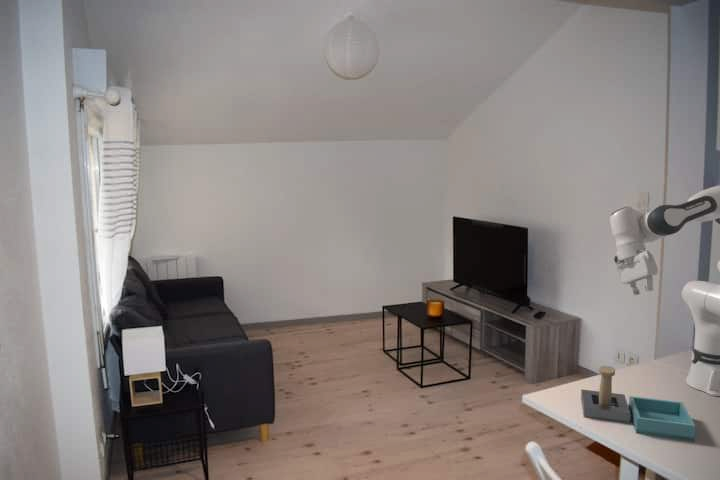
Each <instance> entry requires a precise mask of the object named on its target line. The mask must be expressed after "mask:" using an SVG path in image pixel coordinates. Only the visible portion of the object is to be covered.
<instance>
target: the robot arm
mask: <svg viewBox="0 0 720 480" xmlns="http://www.w3.org/2000/svg"><path fill="white" fill-rule="evenodd" d="M691 221H696V222H698V223H706V222H711V221H714V222H715V223H717V224H718V225H720V185H715V186H712V187H708V188H706V189H704V190H701V191H699V192H697V193H695V194H693V195H692V196H690V197H689V198H688V199H687V201H686V202H684V203H681V204H676V205H675V204H662V205H659V206H658V207H655V208H654V209H653V210H650V211H649V212H647V213H646V212H641V211H638V210H636V209H634V208H633V207H632V206H624V207H621V208H619V209H617V210H615V211H613V212H612V213H611V214H610V216H609V223H610V229H611V233H612V237H613V238H614V240H615V248H616V254H615V256H614V257H613V264H614V265H616V272H617V275H618V277H619V281H620V283H621V284H622V285H628V287H629V288H630V290H631V293H632V295H633V296H638V295H640V294H641V292H640V289H639V288H638V287H637V282H638V281H641V280H644V281H645V286H644V288H645V291H646V292H652V291H654V286H653V283H654V278H653V277H654V276H656V275H658V273H659V269H658V265H657V263H656V260H655V257H654V256H653V254H652V253H650V251H649V250H648V249H647V248H646V244H645V243H653V242H655V241H658V240H660V239H662V238H666V237H667V236H671V235H674V234H677V233H678V232H679V231H680V230H681V229H683V227H684V226H685V225H686V224H687V223H689V222H691ZM716 265H717V266H716V267H717V271H718V272H719V273H720V259H719V260H718V262H717V264H716ZM681 298H682V300H683V302H684V303H685V304H686V306H687V307H688V308H689V310H690V313H691V316H692V318H693V323H694V328H695V329H694V340H693V341H694V343H693V346H692V349H691V355H690V356H691V357H690V358H691V359H690V360H691V364H690V368H689V371H688V375H687V377H686V378H685V383H686V384H687V386H689V387H692V388H693V389H696V390H698V391H702V392H704V393H707V394H709V395H711V396H714V397H720V284H716V283H714V282H709V281H706V280H690V281H688V282H687V283H686V284H685V285H684V286H683V288H682V290H681Z"/></svg>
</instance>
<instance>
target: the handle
mask: <svg viewBox="0 0 720 480" xmlns="http://www.w3.org/2000/svg"><path fill="white" fill-rule="evenodd" d="M598 373H599V375H600V376H601V377H600V383H599V390H598V391H599V405H604V406H610V404H611V395H612V393H613V392H612V391H613V390H612V386H613V385H612V380H613V377H614V376H615V375H616V369H615V367H614V366H610V365H601V366H600V367H598Z"/></svg>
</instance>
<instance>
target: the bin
mask: <svg viewBox="0 0 720 480" xmlns="http://www.w3.org/2000/svg"><path fill="white" fill-rule="evenodd" d="M628 407H629V410H630V413H631V414H630V415H631V416H630V419H631V418H632V419H631V421H632V424H633V428H634V430H635V433H636V434H641V435H647V436H649V435H650V436H655V437H663V438H669V439H678V440H683V441H690V442H694V441H695V436H696V435H695V434H696V424H695V422H694V420H693V419H692V418H691V415H690V413H689V412H688V410H687V408H686V406H685V405H684V402H681V401H674V400H666V399H659V398H651V397H650V398H648V397H643V396H642V397H641V396H633V395H629V398H628Z"/></svg>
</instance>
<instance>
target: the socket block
mask: <svg viewBox="0 0 720 480" xmlns="http://www.w3.org/2000/svg"><path fill="white" fill-rule="evenodd" d="M580 401H581V407H582V408H581V409H582V413H583V415H582V416H583V418H589V419H596V420H603V421H611V422H617V423H625V424H630V423H631V416H630V414H631V413H630V410H629V403H628V401H627V399H626V396H625V394H623V393H616V392H615V393H614V392H612V395H611V404H610V406H604V405H599V390H598V391H597V390H589V389H582V388H581V391H580ZM612 406H614V407H612Z"/></svg>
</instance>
